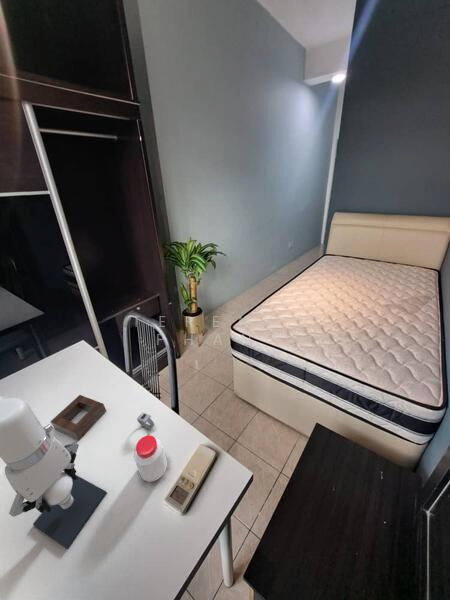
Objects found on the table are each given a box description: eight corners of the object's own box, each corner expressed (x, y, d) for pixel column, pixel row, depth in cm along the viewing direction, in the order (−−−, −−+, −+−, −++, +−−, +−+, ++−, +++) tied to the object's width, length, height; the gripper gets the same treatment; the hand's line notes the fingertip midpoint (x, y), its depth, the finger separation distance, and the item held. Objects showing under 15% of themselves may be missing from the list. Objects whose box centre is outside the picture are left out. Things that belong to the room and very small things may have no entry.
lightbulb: (65, 488, 66) (50, 465, 61) (87, 491, 65) (73, 468, 60) (48, 517, 61) (28, 495, 55) (71, 521, 60) (54, 499, 54)
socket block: (54, 429, 85) (50, 421, 83) (83, 401, 94) (79, 394, 92) (79, 440, 80) (75, 433, 78) (106, 410, 90) (103, 403, 88)
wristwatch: (157, 426, 84) (154, 416, 81) (151, 433, 81) (148, 423, 79) (142, 419, 86) (139, 410, 84) (137, 426, 84) (134, 417, 81)
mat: (34, 525, 61) (32, 524, 61) (75, 475, 71) (74, 474, 71) (68, 549, 57) (66, 547, 57) (107, 493, 67) (106, 491, 66)
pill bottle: (141, 487, 68) (132, 464, 62) (138, 460, 74) (130, 438, 69) (169, 474, 70) (163, 451, 65) (164, 449, 77) (157, 427, 71)
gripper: (54, 410, 60) (79, 452, 68) (-32, 486, 46) (12, 527, 54) (76, 419, 57) (99, 462, 66) (-8, 503, 43) (34, 544, 52)
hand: (59, 491), depth 60 cm, fingers closed on lightbulb, 6 cm apart
